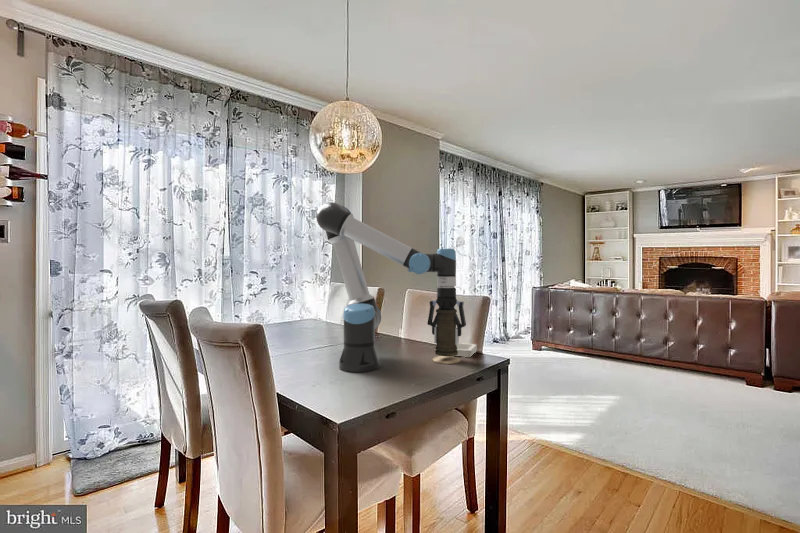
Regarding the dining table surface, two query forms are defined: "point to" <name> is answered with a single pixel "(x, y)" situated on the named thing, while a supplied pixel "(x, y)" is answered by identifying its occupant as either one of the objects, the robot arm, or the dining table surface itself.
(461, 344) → the cradle
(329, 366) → the dining table surface
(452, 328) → the container
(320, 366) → the dining table surface
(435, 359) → the disc
